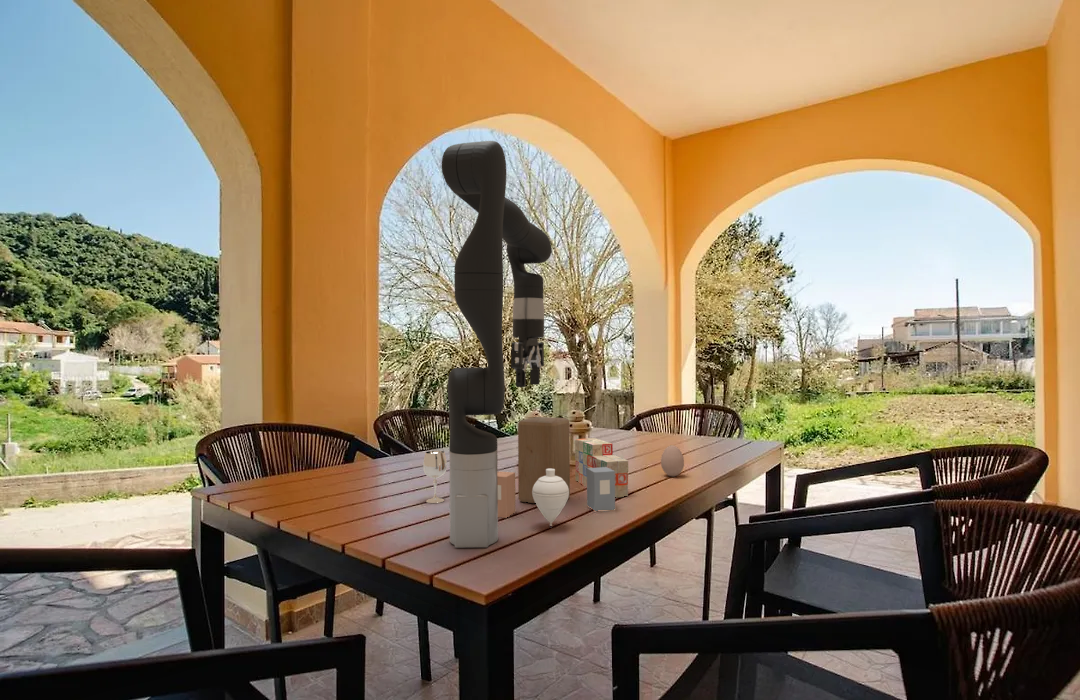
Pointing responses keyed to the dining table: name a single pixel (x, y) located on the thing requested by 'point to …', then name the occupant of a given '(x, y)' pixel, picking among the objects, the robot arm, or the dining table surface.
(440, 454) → the wineglass
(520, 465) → the wooden block
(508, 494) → the terracotta painted block
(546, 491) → the spinning top
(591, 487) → the slate painted block
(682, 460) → the egg
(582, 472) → the stack of blocks
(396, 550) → the dining table surface
